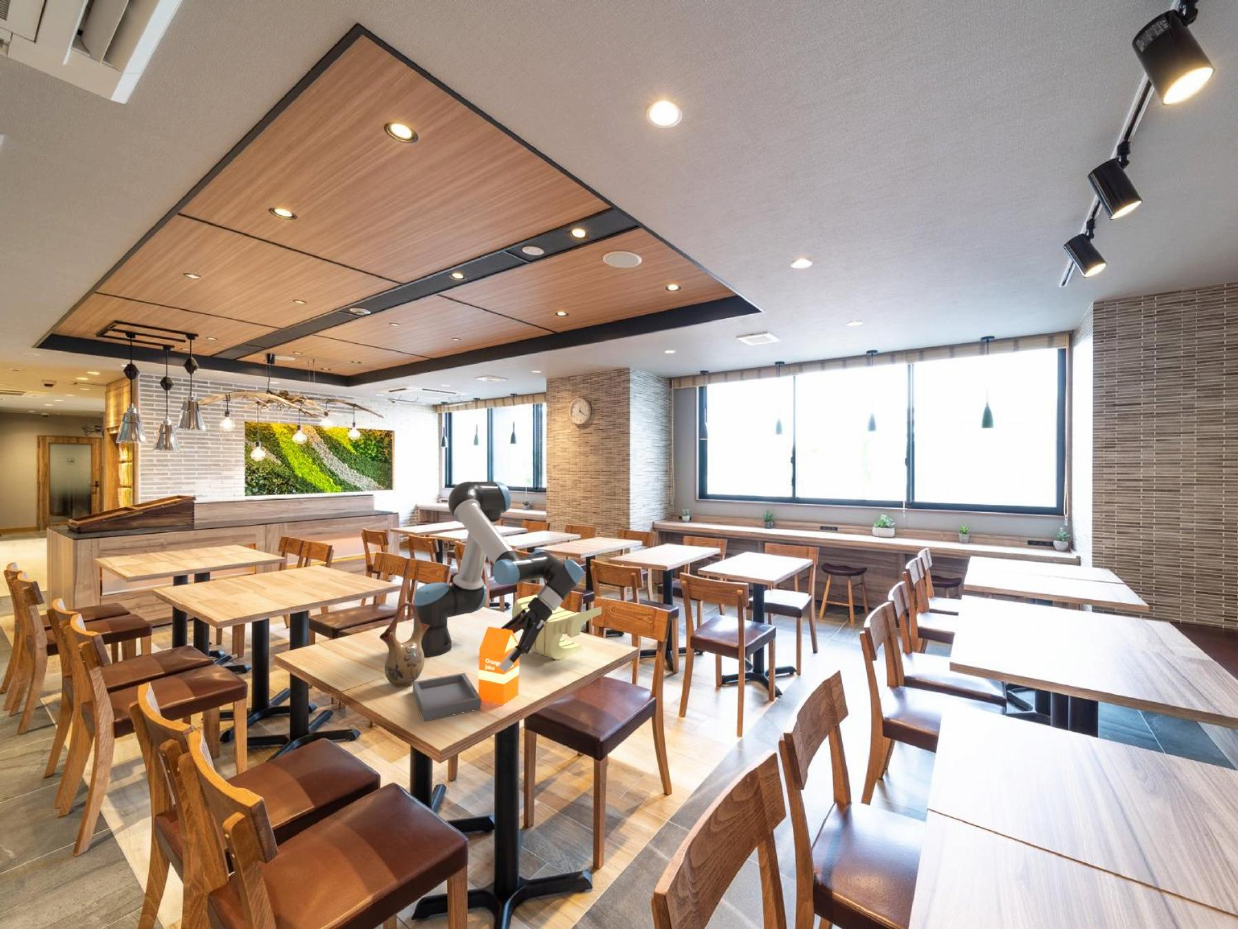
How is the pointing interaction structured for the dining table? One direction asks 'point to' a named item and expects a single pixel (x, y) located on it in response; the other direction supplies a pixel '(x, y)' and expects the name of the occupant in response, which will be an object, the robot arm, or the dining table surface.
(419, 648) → the ceramic vessel
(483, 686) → the orange juice
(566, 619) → the slatted curved stool
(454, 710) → the tray
